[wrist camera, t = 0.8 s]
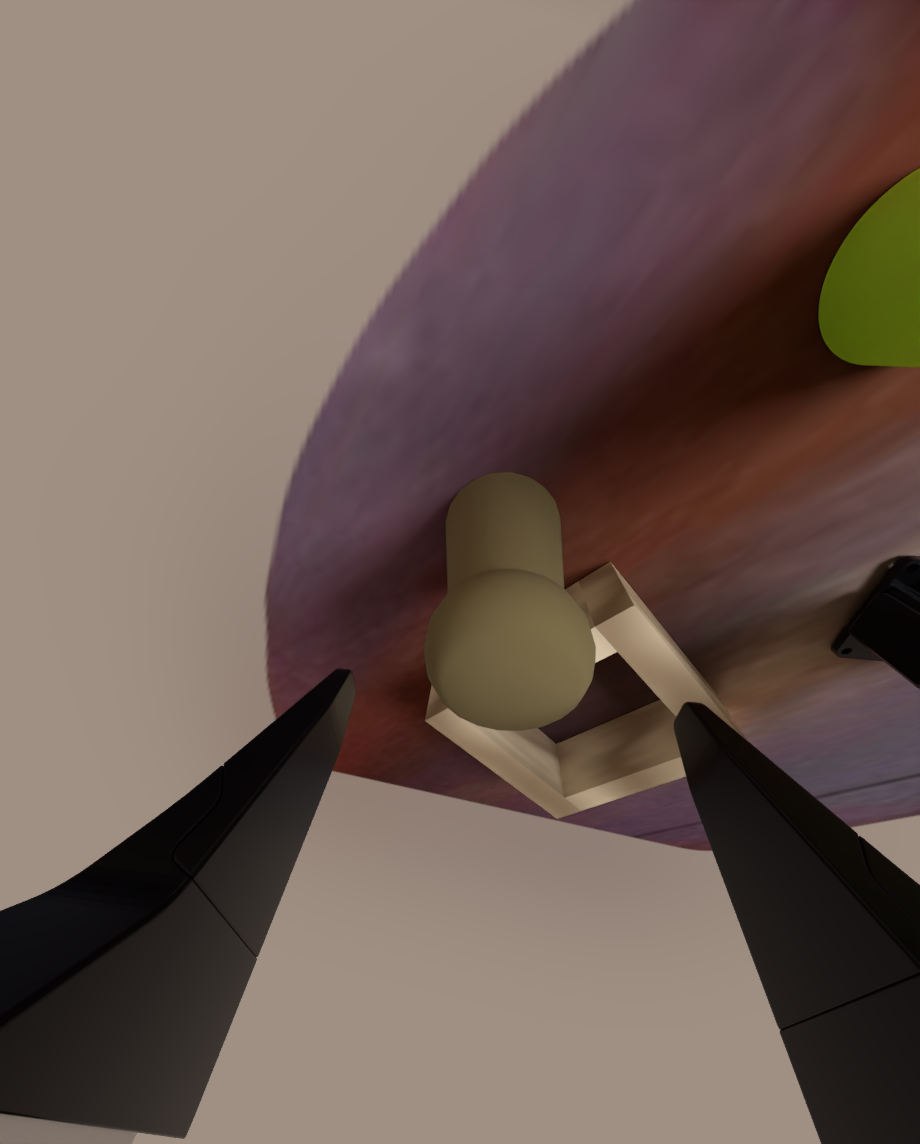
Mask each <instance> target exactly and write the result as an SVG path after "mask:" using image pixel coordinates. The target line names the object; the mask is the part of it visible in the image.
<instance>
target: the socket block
mask: <svg viewBox="0 0 920 1144" xmlns="http://www.w3.org/2000/svg"><path fill="white" fill-rule="evenodd" d="M565 590H566V591H567V592H568V593H569V595H570V596H571V597H572V598H573V599H574V601H575V602H576V603H577V604H578V605H579V607H580V608H581V609H582V610H583V612H584V613H585V615H586V617H587V620H588V623H589V625H590V629H591V632H592V635H593V639H594V642H595V646H596V658H595V663H596V662H598V661H600V660H602V659H604V658H606V657H608V656H610V655H612V654H614V653H616V652H618V653H619V654H620V655H621V656H622V657H623V658H624V660H625V661H626V662H627V663H628V664H629V665H630V666H631V667H632V668H633V670H634V671H635V672H636V673H637V674H638V675H639V676H640V677H641V678H642V679H643V681H644V682H645V683H646V684H647V685H648V686H649V687H650V688H651V689H652V691H653V692H654V693H655V694H656V695H657V696H658V697H659V698H660V700H658V701H655V702H653V703H651V704H648V705H646V706H644V707H641V708H639V709H637V710H634V711H632V712H630V713H627V714H625V715H623V716H620V717H618V718H616V719H613V720H611V721H609V722H606V723H604V724H602V725H599V726H597V727H595V728H592V729H590V730H588V731H585V732H583V733H581V734H578V735H576V736H574V737H571V738H569V739H567V740H564V741H562V742H560V743H557V744H556V743H554V742H553V741H552V740H551V739H550V738H549V737H547V736H546V735H545V734H544V733H543V732H542V731H540V730H539V729H538V728H534V729H528V730H523V731H503V730H494V729H490V728H486V727H481V726H477V725H475V724H473V723H471V722H469V721H466V720H464V719H462V718H460V717H458V716H457V715H456V714H455V713H453V712H452V711H451V710H450V709H449V708H447V707H446V706H445V705H444V704H443V702H442V701H441V699H440V697H439V696H438V694H437V692H436V691H435V689H434V688H433V686H431V691H430V697H429V702H428V707H427V713H426V718H425V721H426V722H427V723H428V724H430V725H431V726H433V727H434V728H435V729H437V730H438V731H439V732H441V733H442V734H443V735H445V736H446V737H447V738H449V739H450V740H451V741H453V742H454V743H455V744H457V745H458V746H460V747H461V748H462V749H464V750H465V751H466V752H468V753H469V754H470V755H472V756H473V757H474V758H476V759H477V760H478V761H480V762H481V763H482V764H484V765H485V766H487V767H488V768H489V769H491V770H492V771H493V772H495V773H496V774H497V775H499V776H500V777H501V778H503V779H504V780H505V781H507V782H508V783H510V784H511V785H512V786H514V787H515V788H516V789H518V790H519V791H520V792H522V793H523V794H524V795H526V796H527V797H528V798H530V799H531V800H532V801H534V802H535V803H537V804H538V805H539V806H541V807H542V808H543V809H545V810H546V811H547V812H549V813H550V814H551V815H553V816H554V817H555V818H557V819H558V818H561V817H564V816H567V815H570V814H573V813H576V812H579V811H582V810H585V809H588V808H591V807H594V806H597V805H600V804H604V803H607V802H610V801H613V800H616V799H619V798H622V797H625V796H628V795H631V794H634V793H637V792H640V791H643V790H646V789H649V788H652V787H655V786H658V785H661V784H664V783H667V782H670V781H673V780H676V779H679V778H682V777H685V776H686V774H685V770H684V767H683V763H682V759H681V755H680V751H679V748H678V744H677V740H676V736H675V732H674V720H675V718H676V716H677V715H678V713H679V711H680V709H681V707H682V705H683V704H684V703H685V702H697V703H702V704H704V705H706V706H707V707H708V708H709V709H710V710H712V711H713V712H714V713H715V714H716V715H717V716H719V717H720V718H721V719H722V720H723V721H725V722H726V723H727V724H728V725H729V726H731V727H732V728H733V729H734V730H735V731H736V732H738V733H739V734H740V735H741V736H742V737H744V735H743V733H742V732H741V730H740V729H739V727H738V726H737V724H736V723H735V721H734V720H733V718H732V717H731V715H730V713H729V712H728V710H727V709H726V707H725V706H724V704H723V703H722V701H721V700H720V698H719V697H718V695H717V694H716V693H715V692H714V690H713V689H712V688H711V687H710V685H709V684H708V683H707V682H706V680H705V679H704V678H703V677H702V675H701V674H700V673H699V672H698V670H697V669H696V668H695V667H694V665H693V664H692V663H691V662H690V660H689V659H688V658H687V657H686V656H685V654H684V653H683V652H682V651H681V649H680V648H679V647H678V646H677V644H676V643H675V642H674V641H673V639H672V638H671V637H670V636H669V634H668V633H667V632H666V631H665V629H664V628H663V627H662V626H661V624H660V623H659V622H658V621H657V619H656V618H655V617H654V616H653V614H652V613H651V612H650V611H649V609H648V608H647V607H646V606H645V604H644V603H643V602H642V601H641V599H640V598H639V597H638V596H637V594H636V593H635V592H634V591H633V589H632V588H631V587H630V586H629V584H628V583H627V582H626V581H625V579H624V578H623V577H622V576H621V574H620V573H619V572H618V571H617V569H616V568H615V567H614V566H613V564H612V563H611V562H608V563H607V564H605V565H604V566H602V567H600V568H599V569H597V570H596V571H594V572H592V573H591V574H589V575H588V576H586V577H584V578H583V579H581V580H580V581H578V582H576V583H575V584H573V585H571V586H570V587H568V588H567V589H565ZM744 738H745V737H744ZM745 739H746V738H745Z"/></svg>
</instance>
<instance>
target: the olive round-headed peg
mask: <svg viewBox="0 0 920 1144" xmlns="http://www.w3.org/2000/svg"><path fill="white" fill-rule="evenodd" d="M446 552H447V583H448V594H447V595H446V596H445V598H444V599H443V600H442V602H441V603H440V604H439V606H438V607H437V609H436V610H435V611H434V613H433V614H432V616H431V620H430V624H429V628H428V632H427V636H426V640H425V643H424V655H425V663H426V669H427V674H428V679H429V681H430V682H431V684H432V686H433V688H434V689H435V691H436V692H437V694H438V696H439V697H440V699H441V701H442V702H443V704H444V705H445V706H446V707H447V708H449V709H450V710H451V711H452V712H453V713H455V714H456V715H457V716H458V717H460V718H462V719H464V720H466V721H469V722H471V723H473V724H475V725H477V726H481V727H486V728H490V729H494V730H503V731H523V730H528V729H534V728H539V727H543V726H546V725H548V724H550V723H553V722H555V721H557V720H560V719H562V718H563V717H564V716H565V715H567V714H568V713H569V712H571V711H572V710H573V709H574V708H576V707H577V705H578V704H579V702H580V701H581V699H582V697H583V696H584V694H585V693H586V691H587V689H588V687H589V685H590V683H591V682H592V680H593V673H594V667H595V658H596V646H595V642H594V639H593V635H592V632H591V629H590V625H589V623H588V620H587V617H586V615H585V613H584V612H583V610H582V609H581V608H580V607H579V605H578V604H577V603H576V602H575V601H574V599H573V598H572V597H571V596H570V595H569V593H568V592H567V591H566V590H565V589H564V576H563V557H562V539H561V521H560V515H559V512H558V508H557V505H556V502H555V500H554V499H553V498H552V496H551V495H550V494H549V492H548V491H547V489H546V488H545V487H544V486H542V485H541V484H539V483H538V482H536V481H535V480H533V479H532V478H530V477H527V476H524V475H520V474H516V473H512V472H503V473H490V474H488V475H485V476H482V477H480V478H477V479H475V480H473V481H471V482H470V483H469V484H468V485H466V486H465V487H464V488H463V489H461V490H460V491H459V492H458V494H457V495H456V497H455V498H454V500H453V502H452V503H451V505H450V506H449V510H448V515H447V519H446Z"/></svg>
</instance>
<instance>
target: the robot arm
mask: <svg viewBox="0 0 920 1144" xmlns="http://www.w3.org/2000/svg"><path fill="white" fill-rule="evenodd" d="M831 651H833V652H834V653H835V654H836V655H837V656H838V657H841V658H853V659H864V660H876V661H884V662H885V663H887V664H888V665H889V666H890V667H892V668H893V669H894V670H895V671H897V672H898V673H899V674H901V675H902V676H903V677H904V678H906V679H907V680H908V681H909V682H911V683H912V684H913V685H914V686H916V687H917V688H919V689H920V556H906V557H903V558H901V559H900V560H898V561H897V562H896V563H895V564H894V565H893V567H892V568H891V569H890V571H889V572H888V573H887V574H886V576H885V577H884V578H883V580H882V581H881V582H880V584H879V585H878V586H877V588H876V589H875V590H874V591H873V593H872V594H871V595H870V597H869V598H868V599H867V601H866V602H865V603H864V605H863V606H862V607H861V608H860V610H859V611H858V612H857V614H856V615H855V616H854V618H853V619H852V620H851V622H850V623H849V624H848V625H847V627H846V628H845V629H844V631H843V632H842V633H841V635H840V636H839V637H838V639H837V640H836V641H835V642H834V644H833V645H832V647H831ZM354 698H355V684H354V678H353V672H352V671H351V670H349V669H336V670H334V671H333V672H332V673H331V674H330V675H328V676H327V677H326V678H325V679H324V680H323V681H321V682H320V683H319V684H318V685H317V686H315V687H314V688H313V689H312V690H311V691H309V692H308V693H307V694H306V695H305V696H304V697H302V698H301V699H300V700H299V701H298V702H296V703H295V704H294V705H293V706H292V707H290V708H289V709H288V710H287V711H286V712H285V713H283V714H282V715H281V716H280V717H279V718H277V719H276V720H275V721H274V722H273V723H272V724H270V725H269V726H268V727H267V728H266V729H264V730H263V731H262V732H261V733H260V734H258V735H257V736H256V737H255V738H254V739H252V740H251V741H250V742H249V743H248V744H247V745H245V746H244V747H243V748H242V749H241V750H239V751H238V752H237V753H236V754H235V755H233V756H232V757H231V758H230V759H229V760H228V761H226V762H225V763H224V766H220V767H219V768H218V769H217V770H216V771H214V772H213V773H212V774H211V775H210V776H209V777H207V778H206V779H205V780H204V781H202V782H201V783H200V784H199V785H197V786H196V787H195V788H194V789H192V790H191V791H190V792H189V793H188V794H186V795H185V796H184V797H182V798H181V799H180V800H178V801H177V802H176V803H174V804H173V805H172V806H171V807H169V808H168V809H167V810H165V811H164V812H163V813H161V814H160V815H159V816H157V817H156V818H155V819H153V820H152V821H151V822H149V823H148V824H146V825H145V826H144V827H142V828H141V829H140V830H138V831H137V832H135V833H134V834H133V835H131V836H130V837H128V838H127V839H126V840H124V841H123V842H122V843H120V844H119V845H118V846H116V847H115V848H113V849H112V850H111V851H109V852H108V853H107V854H105V855H104V856H103V857H101V858H100V859H98V860H97V861H96V862H94V863H93V864H91V865H90V866H89V867H87V868H86V869H84V870H83V871H81V872H80V873H78V874H77V875H75V876H74V877H72V878H70V879H69V880H67V881H66V882H64V883H62V884H60V885H58V886H57V887H55V888H53V889H51V890H49V891H47V892H45V893H43V894H41V895H39V896H36V897H34V898H31V899H29V900H26V901H24V902H22V903H19V904H16V905H14V906H11V907H9V908H6V909H4V910H2V911H0V1144H132V1142H133V1140H134V1138H135V1136H136V1134H137V1132H138V1133H145V1134H152V1135H160V1136H167V1137H174V1138H182V1139H184V1138H185V1137H186V1135H187V1133H188V1130H189V1128H190V1126H191V1123H192V1121H193V1118H194V1116H195V1114H196V1111H197V1109H198V1106H199V1104H200V1101H201V1098H202V1096H203V1093H204V1091H205V1088H206V1086H207V1083H208V1081H209V1078H210V1076H211V1073H212V1071H213V1068H214V1066H215V1063H216V1061H217V1058H218V1056H219V1053H220V1051H221V1048H222V1046H223V1043H224V1041H225V1038H226V1036H227V1033H228V1031H229V1028H230V1025H231V1023H232V1021H233V1018H234V1016H235V1013H236V1010H237V1008H238V1006H239V1003H240V1000H241V998H242V995H243V993H244V991H245V988H246V986H247V983H248V980H249V978H250V976H251V973H252V971H253V968H254V966H255V963H256V960H257V958H256V957H258V955H259V953H260V950H261V947H262V945H263V943H264V940H265V938H266V935H267V933H268V930H269V927H270V925H271V923H272V920H273V917H274V915H275V912H276V910H277V907H278V905H279V902H280V900H281V897H282V895H283V892H284V890H285V887H286V885H287V882H288V880H289V877H290V874H291V872H292V870H293V867H294V865H295V862H296V860H297V857H298V855H299V852H300V850H301V847H302V845H303V842H304V840H305V837H306V835H307V832H308V830H309V827H310V825H311V822H312V819H313V817H314V815H315V812H316V810H317V807H318V805H319V802H320V800H321V797H322V795H323V792H324V789H325V787H326V784H327V782H328V780H329V777H330V775H331V772H332V770H333V767H334V765H335V762H336V760H337V757H338V754H339V751H340V748H341V745H342V741H343V738H344V734H345V731H346V727H347V724H348V720H349V716H350V713H351V709H352V706H353V702H354ZM674 732H675V736H676V740H677V744H678V748H679V751H680V755H681V759H682V763H683V767H684V770H685V774H686V778H687V782H688V785H689V788H690V791H691V794H692V797H693V800H694V803H695V805H696V808H697V811H698V813H699V816H700V819H701V821H702V824H703V827H704V829H705V832H706V835H707V837H708V840H709V843H710V845H711V848H712V851H713V854H714V856H715V859H716V862H717V864H718V867H719V870H720V872H721V875H722V877H723V880H724V883H725V885H726V888H727V891H728V894H729V896H730V899H731V902H732V905H733V907H734V910H735V913H736V915H737V918H738V921H739V923H740V926H741V929H742V931H743V934H744V937H745V939H746V942H747V945H748V947H749V950H750V953H751V956H752V958H753V961H754V964H755V966H756V969H757V972H758V974H759V977H760V980H761V982H762V985H763V988H764V990H765V993H766V996H767V998H768V1001H769V1004H770V1007H771V1009H772V1012H773V1014H774V1017H775V1020H776V1023H777V1025H778V1027H779V1029H780V1034H781V1037H782V1040H783V1042H784V1044H785V1047H786V1050H787V1053H788V1055H789V1058H790V1061H791V1064H792V1066H793V1069H794V1072H795V1074H796V1077H797V1080H798V1082H799V1085H800V1088H801V1090H802V1093H803V1096H804V1099H805V1101H806V1104H807V1107H808V1109H809V1112H810V1114H811V1117H812V1120H813V1123H814V1125H815V1128H816V1131H817V1133H818V1136H819V1139H820V1142H821V1144H920V885H919V884H918V883H917V882H915V881H914V880H913V879H912V878H910V877H909V876H908V875H907V874H906V873H904V872H903V871H902V870H901V869H899V868H898V867H897V866H896V865H895V864H893V863H892V862H891V861H890V860H889V859H887V858H886V857H885V856H883V855H882V854H881V853H880V852H879V851H878V850H876V849H875V848H874V847H873V846H872V845H871V844H869V843H868V842H867V841H866V840H865V839H863V838H862V837H860V836H858V834H857V833H856V832H855V831H854V830H853V829H851V828H850V827H849V826H848V825H847V824H846V823H844V822H843V821H842V820H841V819H840V818H838V817H837V816H836V815H835V814H834V813H832V812H831V811H830V810H829V809H828V808H827V807H825V806H824V805H823V804H822V803H821V802H819V801H818V800H817V799H816V798H815V797H814V796H812V795H811V794H810V793H809V792H808V791H806V790H805V789H804V788H803V787H802V786H800V785H799V784H798V783H797V782H796V781H795V780H793V779H792V778H791V777H790V776H789V775H787V774H786V773H785V772H784V771H783V770H782V769H780V768H779V767H778V766H777V765H776V764H774V763H773V762H772V761H771V760H770V759H768V758H767V757H766V756H765V755H764V754H763V753H761V752H760V751H759V750H758V749H757V748H755V747H754V746H753V745H752V744H751V743H749V742H748V741H747V740H746V739H745V738H744V737H742V736H741V735H740V734H739V733H738V732H736V731H735V730H734V729H733V728H732V727H731V726H729V725H728V724H727V723H726V722H725V721H723V720H722V719H721V718H720V717H719V716H717V715H716V714H715V713H714V712H713V711H712V710H710V709H709V708H708V707H707V706H706V705H704V704H702V703H697V702H685V703H684V704H683V705H682V707H681V709H680V711H679V713H678V715H677V716H676V718H675V720H674Z"/></svg>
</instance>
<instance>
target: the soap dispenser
mask: <svg viewBox="0 0 920 1144" xmlns="http://www.w3.org/2000/svg"><path fill="white" fill-rule="evenodd" d="M818 316H819V326H820V331H821V334H822V337H823V339H824V341H825V343H826V345H827V346H828V348H829V349H830V350H831V351H832V352H833V353H834V354H835V355H836V356H838V357H839V358H841V359H842V360H844V361H847V362H849V363H853V364H857V365H867V366H895V367H920V168H919V169H917V170H916V171H914V172H912V173H911V174H909V175H908V176H906V177H905V178H904V179H902V180H901V181H899V182H898V183H897V184H896V185H894V186H893V187H892V188H891V189H889V190H888V191H887V192H886V193H885V194H884V195H883V196H881V197H880V198H879V199H878V200H877V201H876V202H875V203H874V204H873V205H872V206H871V207H870V208H869V209H868V210H867V212H866V213H865V214H864V215H863V216H862V217H861V218H860V220H859V221H858V222H857V223H856V225H855V226H854V227H853V229H852V230H851V231H850V233H849V234H848V235H847V237H846V238H845V240H844V242H843V243H842V245H841V246H840V248H839V250H838V252H837V253H836V255H835V257H834V259H833V261H832V263H831V265H830V268H829V270H828V272H827V275H826V278H825V280H824V284H823V287H822V291H821V295H820V301H819V312H818Z"/></svg>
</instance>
